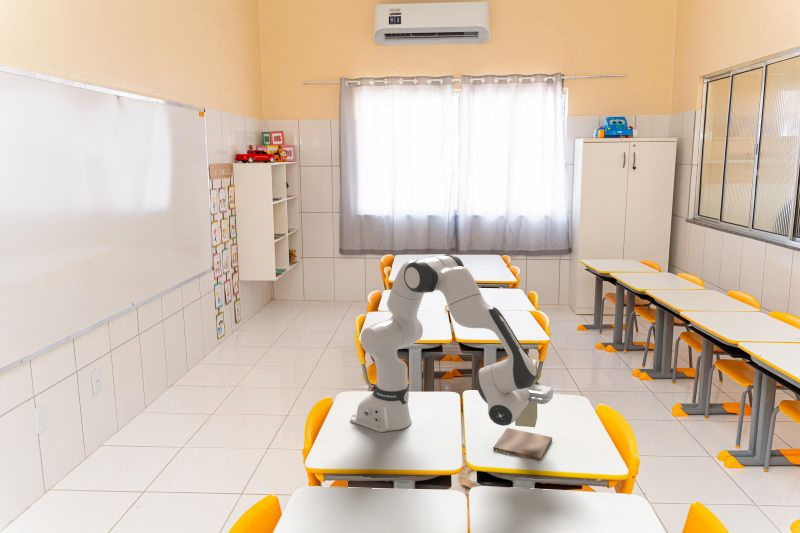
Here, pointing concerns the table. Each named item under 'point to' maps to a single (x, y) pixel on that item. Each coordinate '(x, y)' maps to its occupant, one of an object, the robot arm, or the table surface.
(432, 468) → the table surface
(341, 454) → the table surface
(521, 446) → the walnut platform
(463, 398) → the table surface
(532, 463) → the table surface
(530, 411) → the toy refrigerator
